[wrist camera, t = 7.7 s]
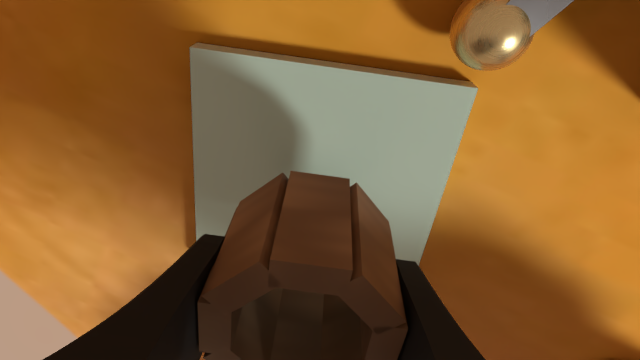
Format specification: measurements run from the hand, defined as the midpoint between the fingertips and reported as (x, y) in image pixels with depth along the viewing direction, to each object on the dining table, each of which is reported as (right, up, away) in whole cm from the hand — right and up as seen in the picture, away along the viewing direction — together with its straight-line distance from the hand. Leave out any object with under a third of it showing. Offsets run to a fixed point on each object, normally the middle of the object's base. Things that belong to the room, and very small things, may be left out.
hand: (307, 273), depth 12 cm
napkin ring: (0, +1, +1) cm, 2 cm away
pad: (0, +3, +5) cm, 6 cm away
